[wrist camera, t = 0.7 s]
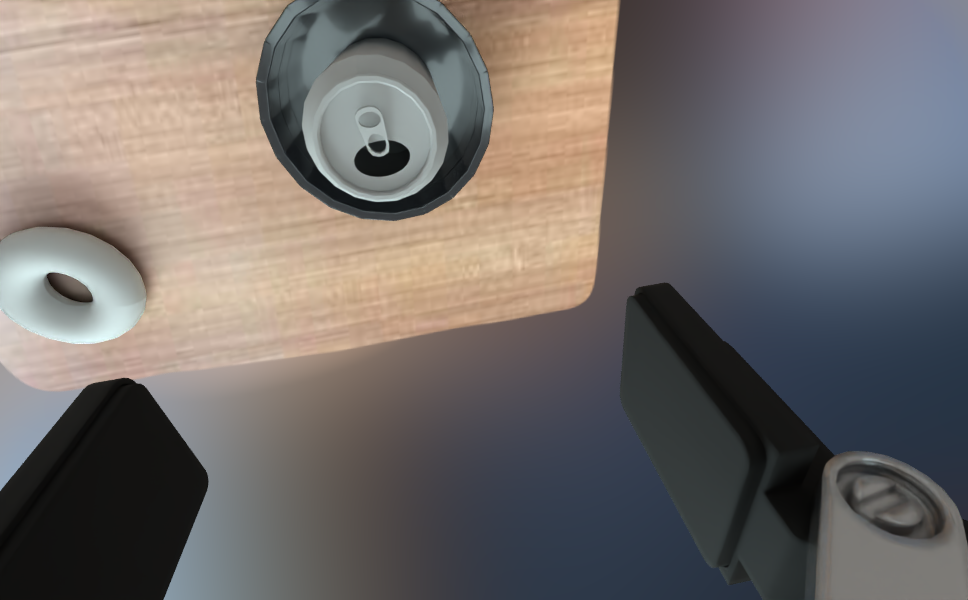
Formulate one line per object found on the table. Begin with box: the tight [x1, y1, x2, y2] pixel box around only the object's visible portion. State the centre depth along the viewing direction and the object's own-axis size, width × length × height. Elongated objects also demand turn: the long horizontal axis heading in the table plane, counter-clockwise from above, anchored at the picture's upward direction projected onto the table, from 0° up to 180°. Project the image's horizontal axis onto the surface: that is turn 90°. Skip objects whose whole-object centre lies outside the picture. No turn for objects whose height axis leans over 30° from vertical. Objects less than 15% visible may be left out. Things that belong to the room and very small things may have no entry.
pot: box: [256, 0, 494, 221], centre depth 30 cm, size 14×14×6 cm
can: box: [302, 38, 448, 202], centre depth 28 cm, size 8×8×12 cm
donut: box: [0, 227, 147, 344], centre depth 36 cm, size 10×4×10 cm
